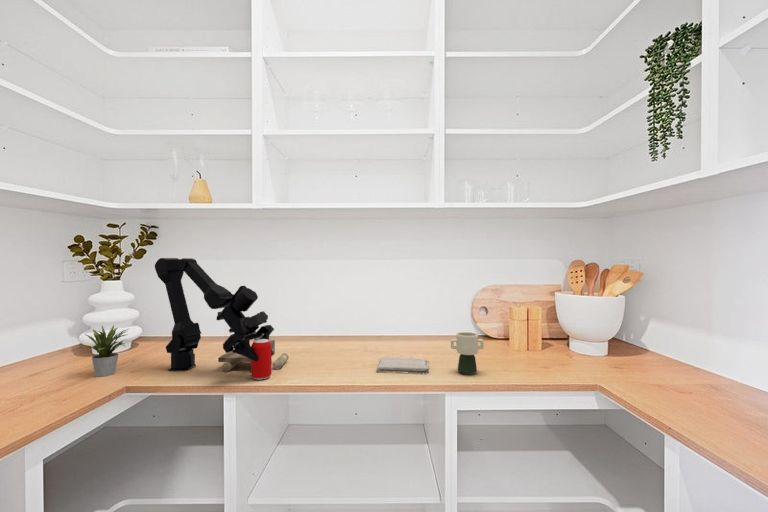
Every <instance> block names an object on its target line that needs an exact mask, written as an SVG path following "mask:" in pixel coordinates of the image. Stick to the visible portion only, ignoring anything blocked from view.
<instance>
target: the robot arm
mask: <svg viewBox="0 0 768 512" xmlns="http://www.w3.org/2000/svg"><path fill="white" fill-rule="evenodd" d="M154 271H155V273H156V275H157V277H158V279H159V280H160V281H161V282H162V283H164V286H165V289H166V290H165V291H166V292H167V297H168V300H169V301H168V303H169V306H170V309H171V314H172V318H173V321H174V325H173V327H172V330H171V338H172V339H171V340H170V341H169V342H168V344H167V345H166V346H165V350H166V353H168V354H170V368H168V370H167V371H171V372H172V371H175V372H176V370H177V372H178V371H179V370H180V371H181V370H182V371H183V372H184V371H185V370H186V371H189V370H190V369H192V368H194V367H196V358H195V357H196V354H195V353H194V351H195V349H197V348H198V346H199V343H200V340H201V338H202V337H201V334H202V331H201V328H200V324H199V322H193V320H192V319H191V316H190V313H189V312H190V311H189V308H188V304H187V299H186V295H185V292H184V289H183V284H182V279H183V276H184V273H185V274H186V276H187V277H188V278H189V279H191V281H192V282H193V283H194V284H195V285H196V286H197V287H198V288H199V290H200V291H201V292H202V294H203V299H204V301H205V302H206V304H207V306H208V307H209V308H210V309H212V310H219V309H222V310H221V311H218V312H217V315H216V321H222V320H224V322H225V323H226V325H227V326H228V327H229V329H228V332H229V333H230V334H229V335H230V336H229V337H227V339H226V340H225V341H224V342H223V343H222V349H223V350H224V352H225V353H228V352H231V351H232V352H233V353H237V354H240V355H243V356H245V357H247V358H249V359H251V360H254V361H256V362H257V361H258V360H259V358H258V357H257V355H256V353H255V352H254V350H253V349H252V347H251V346H252V345H251V343H250V342H251V340H252V341H253V340H254V341H255V340H258V339H268V340H269V341H270V335H271V334H272V333H273V332H274V330H275V328H274V327H273V325H271V324H266V323H267V322H268V321H267V320H268V319H269V315H268V314H267V313H266V312H265V311H260V312H257V313H256V314H255V315H252V316H245V314H244V312H247V311H248V310H249V309H250V308H251V307H252V306H253V305H254V304H255V302H256V301H257V300H258V299H259V298H258V294H257V292H256V291H254V290H252V289H251V288H248V287H247V286H246V285H240V286H239V287H238V289H237V290H236V291H235V293H234V294H233V293H232V292H231V291H230V290H228V289H227V288H226V287H224V286H222V285H220V284H218V283H216V282H215V281H214V280H213V279H212V278H211V277H210V276H209V275H208V273H207V272H205V270H204V269H203V268H202V267H201V265H199V263H198V262H197V260H196V259H195V258H192V257H191V258H189V257H188V258H187V257H186V258H184V257H183V258H178V257H161V258H159V259H157V261H156V262H155V263H154ZM262 324H265V325H262ZM260 325H261V326H260ZM272 355H273V351H272V348H271V356H272ZM273 356H274V355H273ZM273 356H272V357H273Z"/></svg>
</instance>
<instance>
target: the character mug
mask: <svg viewBox="0 0 768 512" xmlns="http://www.w3.org/2000/svg"><path fill="white" fill-rule="evenodd" d="M455 335H456V336H455V337H456V338H451V339H450V349H452V350H456V352H457V353H458V354H459V357H458V363H457V371H458V372H459V373H461V374H462V373H463V374H466V375H472V374H475V373H477V372H478V371H477V370H478V369H477V362H476V361H477V359H476V356H475V355H478V352H479V350H483V349H484V347H485V345H484V343H485V342H484V339H483V338H479V335H478V333H476V332H472V331H459V332H456V334H455ZM454 343H456V345H455V344H454ZM479 343H480V345H479Z"/></svg>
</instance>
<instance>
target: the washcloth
mask: <svg viewBox="0 0 768 512" xmlns="http://www.w3.org/2000/svg"><path fill="white" fill-rule="evenodd" d="M429 364H430V361H429V360H427V358H417V357H413V356H409V357H399V356H392V357H391V356H384V357H381V358H380V359H379V361H378V364H377V366H376V372H377V373H382V372H408V373H407V374H409V373H410V374H411V373H421V374H420V375H428V373H429V370H430V365H429ZM427 372H428V373H427ZM422 373H424V374H422Z"/></svg>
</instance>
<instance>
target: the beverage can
mask: <svg viewBox="0 0 768 512" xmlns="http://www.w3.org/2000/svg"><path fill="white" fill-rule="evenodd" d="M250 346H251V347H252V349H253V350H254V352H255V353H256V355H257V357H258V358H259V360H258V361H257V362H256V361H254V360H251V362H250V363H251V364H250V366H251V367H250V369H251V370H250V371H251V372H250V373H251V374H250V375H251V378H252V379H255V380H257V381H263V379H264V380H266V379H268V378H270V377H271V375H272V357H271V343H270V339H269V340H268V339H258V340H255V339H254V341H253V342H252V344H251V345H250Z"/></svg>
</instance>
